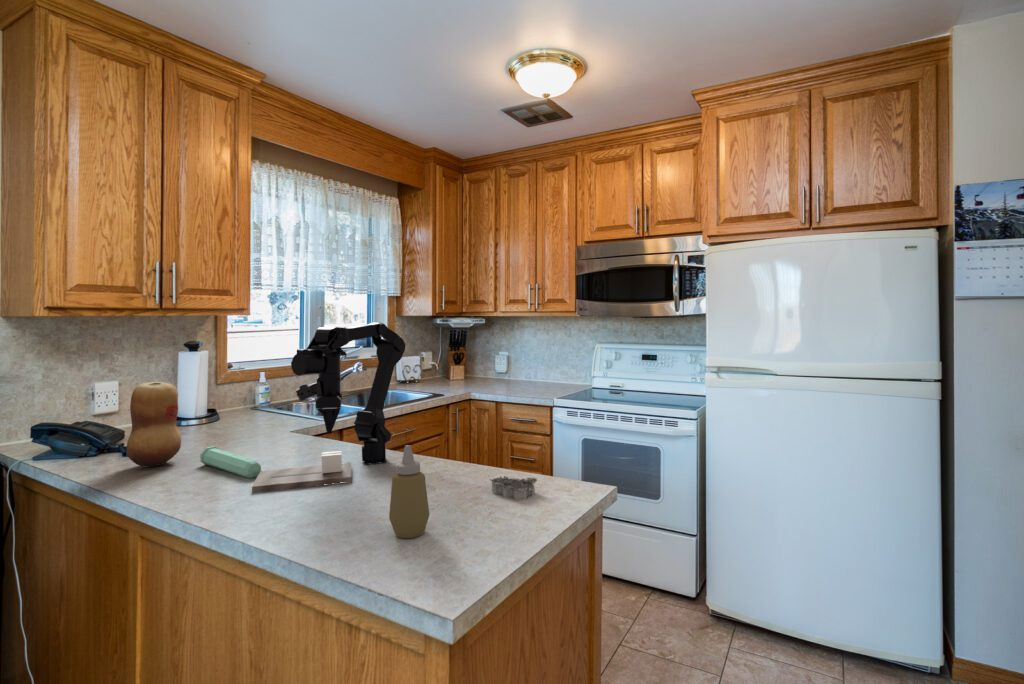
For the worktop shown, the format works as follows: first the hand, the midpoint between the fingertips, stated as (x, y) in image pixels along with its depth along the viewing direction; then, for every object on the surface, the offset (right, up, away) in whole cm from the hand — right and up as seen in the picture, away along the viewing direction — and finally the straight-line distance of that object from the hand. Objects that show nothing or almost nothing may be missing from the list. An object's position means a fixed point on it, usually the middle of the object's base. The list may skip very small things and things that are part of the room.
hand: (329, 429), depth 144 cm
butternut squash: (-57, -13, +14) cm, 60 cm away
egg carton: (+50, -14, -14) cm, 54 cm away
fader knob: (0, -11, +1) cm, 11 cm away
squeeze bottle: (+29, -15, -37) cm, 50 cm away
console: (-6, -13, -1) cm, 15 cm away
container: (-31, -14, +8) cm, 35 cm away
